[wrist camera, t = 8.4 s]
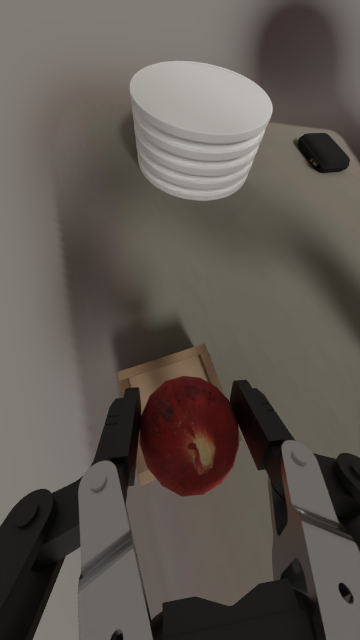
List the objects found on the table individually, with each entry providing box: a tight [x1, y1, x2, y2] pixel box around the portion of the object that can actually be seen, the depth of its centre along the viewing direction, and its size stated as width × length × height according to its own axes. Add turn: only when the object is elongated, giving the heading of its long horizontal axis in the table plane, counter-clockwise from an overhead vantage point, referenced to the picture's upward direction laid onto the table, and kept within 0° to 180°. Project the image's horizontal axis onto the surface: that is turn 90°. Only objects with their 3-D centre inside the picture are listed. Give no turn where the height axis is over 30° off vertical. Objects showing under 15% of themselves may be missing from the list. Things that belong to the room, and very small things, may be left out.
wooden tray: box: [117, 344, 242, 486], centre depth 22 cm, size 11×11×6 cm
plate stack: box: [130, 61, 273, 201], centre depth 39 cm, size 28×28×12 cm
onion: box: [139, 376, 239, 496], centre depth 10 cm, size 6×6×8 cm
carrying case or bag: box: [298, 133, 350, 173], centre depth 49 cm, size 11×3×15 cm
